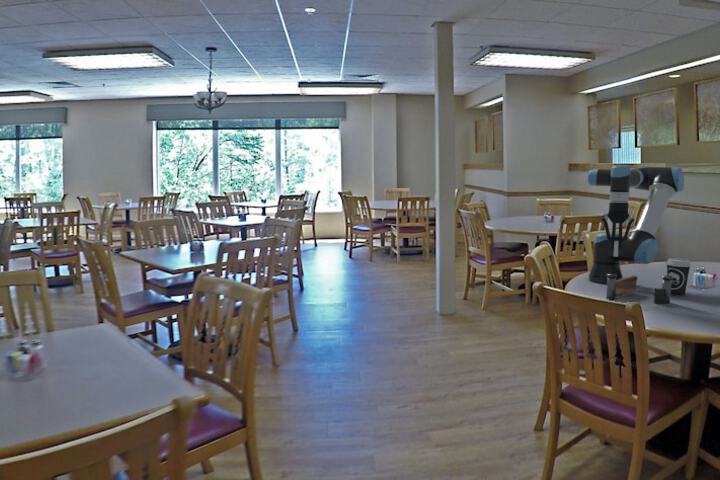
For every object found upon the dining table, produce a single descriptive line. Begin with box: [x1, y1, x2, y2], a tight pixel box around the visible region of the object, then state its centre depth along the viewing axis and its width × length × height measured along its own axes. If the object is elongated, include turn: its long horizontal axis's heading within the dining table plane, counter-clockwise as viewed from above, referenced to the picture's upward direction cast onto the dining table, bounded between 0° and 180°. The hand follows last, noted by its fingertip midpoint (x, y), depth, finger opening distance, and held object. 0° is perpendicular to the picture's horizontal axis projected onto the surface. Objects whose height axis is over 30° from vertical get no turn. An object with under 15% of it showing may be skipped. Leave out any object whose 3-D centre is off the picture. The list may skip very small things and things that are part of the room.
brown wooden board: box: [615, 275, 638, 299], centre depth 237 cm, size 2×17×7 cm, turn 126°
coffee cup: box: [665, 257, 692, 297], centre depth 239 cm, size 10×10×15 cm
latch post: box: [653, 274, 673, 305], centre depth 226 cm, size 5×7×11 cm
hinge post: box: [605, 273, 617, 301], centre depth 231 cm, size 4×4×11 cm
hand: (615, 256), depth 241 cm, fingers closed
